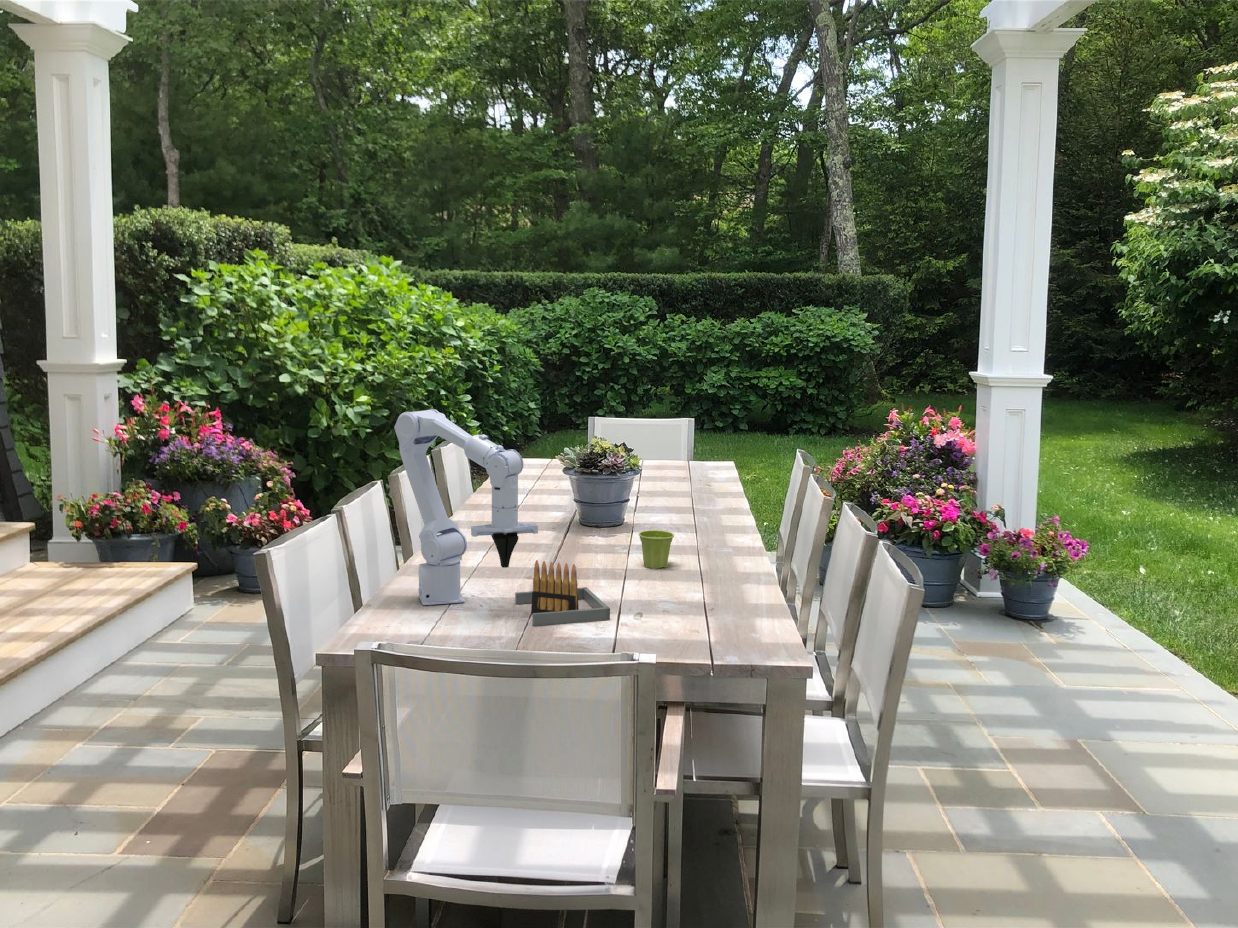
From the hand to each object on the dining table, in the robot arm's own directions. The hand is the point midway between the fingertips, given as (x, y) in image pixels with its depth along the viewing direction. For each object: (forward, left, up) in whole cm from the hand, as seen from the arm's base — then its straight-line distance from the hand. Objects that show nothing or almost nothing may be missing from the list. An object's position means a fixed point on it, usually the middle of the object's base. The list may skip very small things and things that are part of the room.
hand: (504, 566), depth 228 cm
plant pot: (+47, +30, -11) cm, 57 cm away
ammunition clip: (+10, -5, -11) cm, 16 cm away
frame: (+12, -3, -10) cm, 16 cm away
